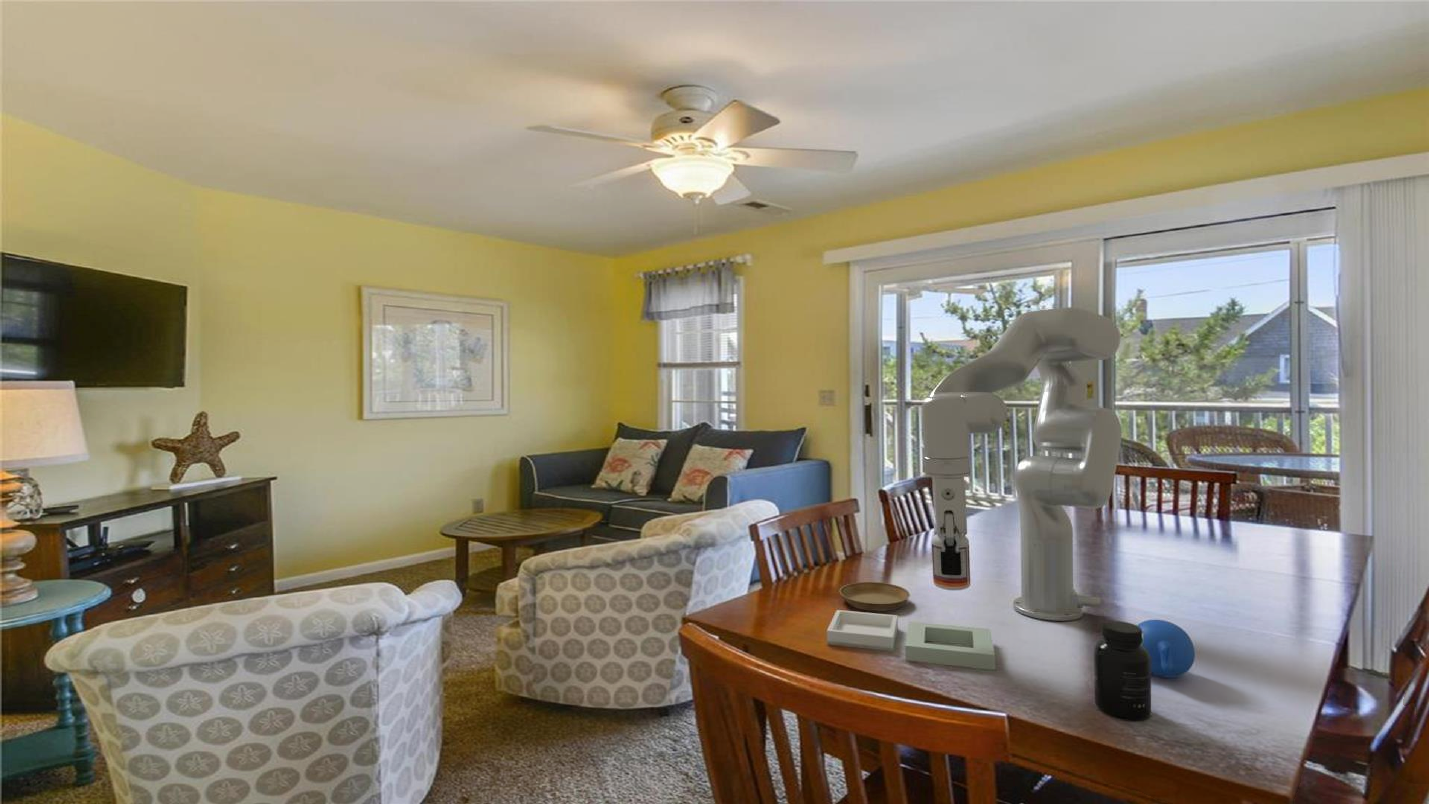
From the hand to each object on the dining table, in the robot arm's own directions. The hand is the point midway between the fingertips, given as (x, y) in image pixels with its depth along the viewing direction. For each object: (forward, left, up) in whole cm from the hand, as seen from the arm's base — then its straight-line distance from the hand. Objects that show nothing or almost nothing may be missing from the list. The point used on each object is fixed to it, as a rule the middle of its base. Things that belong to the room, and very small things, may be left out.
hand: (951, 567), depth 115 cm
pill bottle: (0, 0, -3) cm, 3 cm away
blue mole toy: (-29, +1, -15) cm, 33 cm away
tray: (+16, -2, -15) cm, 21 cm away
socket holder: (+1, +1, -15) cm, 15 cm away
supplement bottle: (-22, +16, -15) cm, 31 cm away
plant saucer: (+16, -22, -15) cm, 31 cm away
